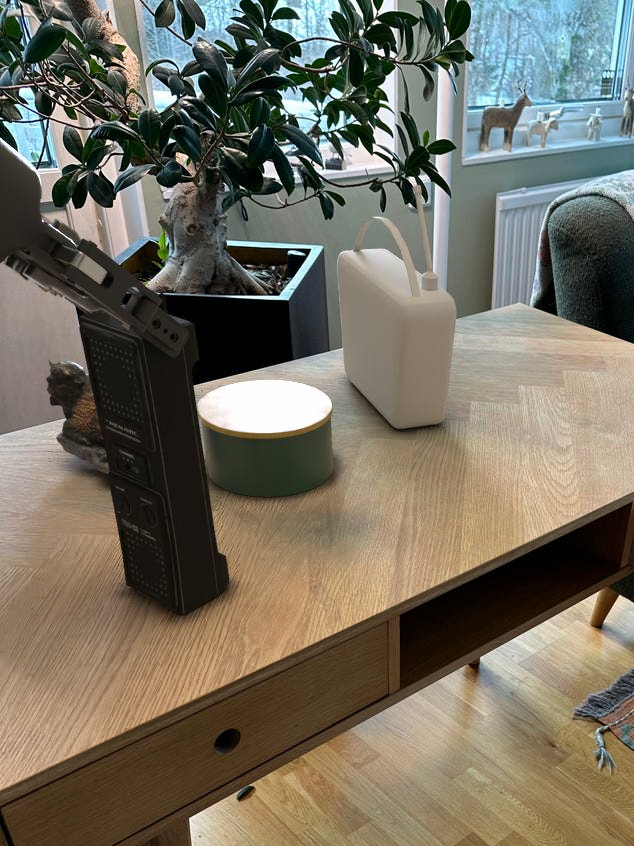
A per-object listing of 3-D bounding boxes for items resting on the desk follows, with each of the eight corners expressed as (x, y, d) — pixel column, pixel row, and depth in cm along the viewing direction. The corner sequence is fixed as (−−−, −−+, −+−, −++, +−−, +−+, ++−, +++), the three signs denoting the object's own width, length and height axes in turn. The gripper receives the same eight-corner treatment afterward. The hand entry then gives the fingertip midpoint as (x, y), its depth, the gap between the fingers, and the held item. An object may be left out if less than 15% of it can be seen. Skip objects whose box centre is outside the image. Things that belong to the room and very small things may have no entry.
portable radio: (115, 585, 75) (43, 279, 60) (172, 557, 79) (118, 263, 64) (177, 620, 71) (117, 305, 56) (233, 588, 76) (192, 286, 60)
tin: (179, 465, 93) (169, 402, 88) (280, 430, 101) (275, 370, 97) (260, 511, 86) (253, 445, 82) (361, 469, 94) (359, 407, 90)
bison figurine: (178, 471, 92) (163, 377, 86) (125, 497, 87) (105, 399, 81) (98, 440, 96) (78, 349, 90) (43, 463, 91) (18, 368, 85)
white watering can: (465, 430, 104) (478, 199, 89) (400, 440, 101) (401, 201, 85) (395, 365, 119) (396, 158, 104) (337, 372, 116) (329, 159, 101)
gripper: (24, 124, 45) (235, 310, 59) (-96, 89, 52) (118, 262, 66) (-50, 249, 45) (179, 405, 59) (-161, 197, 52) (68, 348, 66)
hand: (146, 329), depth 63 cm, fingers open, 7 cm apart
